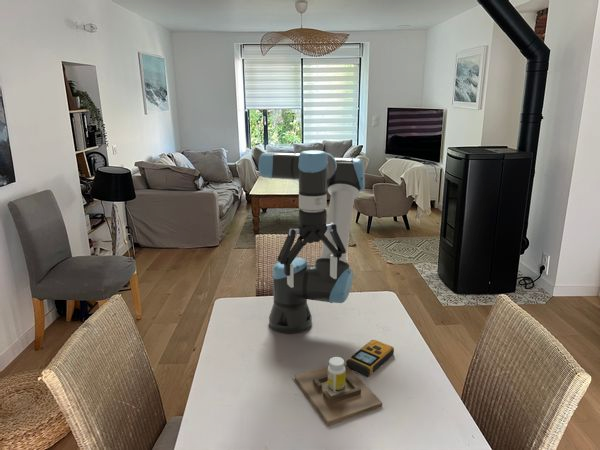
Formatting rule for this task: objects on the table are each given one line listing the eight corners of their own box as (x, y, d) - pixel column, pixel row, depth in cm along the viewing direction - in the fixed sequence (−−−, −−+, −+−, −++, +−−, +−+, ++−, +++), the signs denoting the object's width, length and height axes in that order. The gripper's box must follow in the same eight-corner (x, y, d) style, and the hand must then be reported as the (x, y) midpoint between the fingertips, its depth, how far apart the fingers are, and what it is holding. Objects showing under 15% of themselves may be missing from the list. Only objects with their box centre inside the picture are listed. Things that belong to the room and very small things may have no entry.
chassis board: (294, 379, 125) (294, 371, 124) (343, 365, 131) (343, 357, 130) (327, 425, 107) (328, 416, 107) (382, 406, 114) (382, 397, 113)
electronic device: (395, 356, 137) (396, 346, 136) (368, 379, 126) (369, 369, 125) (371, 346, 142) (372, 337, 141) (344, 368, 131) (344, 358, 130)
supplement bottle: (347, 384, 120) (347, 357, 118) (342, 395, 116) (343, 367, 114) (330, 380, 122) (330, 354, 120) (325, 391, 118) (325, 364, 115)
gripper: (274, 217, 110) (276, 294, 116) (359, 207, 120) (356, 278, 126) (264, 210, 117) (266, 284, 123) (345, 201, 127) (343, 269, 133)
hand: (312, 281), depth 125 cm, fingers open, 13 cm apart
